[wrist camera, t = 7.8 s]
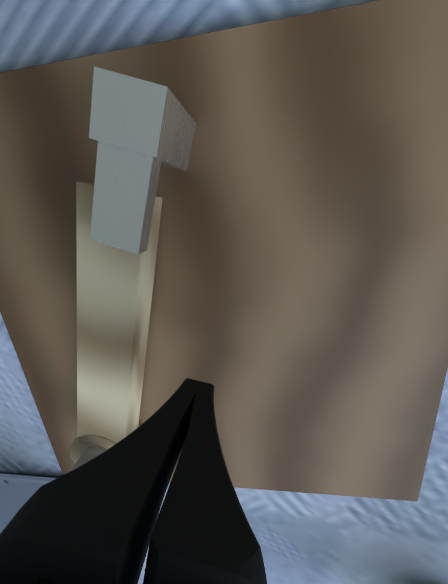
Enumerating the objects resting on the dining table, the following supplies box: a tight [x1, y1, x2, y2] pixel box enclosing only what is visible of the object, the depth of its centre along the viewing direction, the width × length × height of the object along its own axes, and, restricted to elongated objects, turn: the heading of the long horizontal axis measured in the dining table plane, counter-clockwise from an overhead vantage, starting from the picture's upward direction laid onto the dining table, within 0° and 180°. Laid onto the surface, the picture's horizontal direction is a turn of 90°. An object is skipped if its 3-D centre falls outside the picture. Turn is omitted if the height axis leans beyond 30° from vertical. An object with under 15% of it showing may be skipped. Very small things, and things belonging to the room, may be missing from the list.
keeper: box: [89, 66, 196, 254], centre depth 11 cm, size 6×2×4 cm, turn 165°
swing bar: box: [70, 182, 162, 471], centre depth 14 cm, size 18×4×3 cm, turn 169°
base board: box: [0, 0, 448, 501], centre depth 15 cm, size 26×26×1 cm
